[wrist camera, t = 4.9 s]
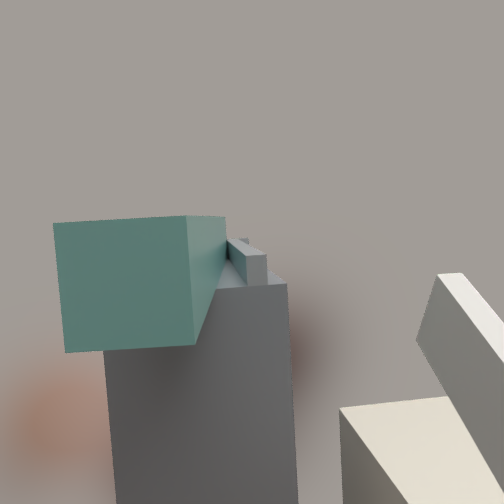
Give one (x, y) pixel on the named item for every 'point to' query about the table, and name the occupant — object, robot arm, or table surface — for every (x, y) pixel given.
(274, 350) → the tall grey bin
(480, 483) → the beige tall block
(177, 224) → the lid bar
